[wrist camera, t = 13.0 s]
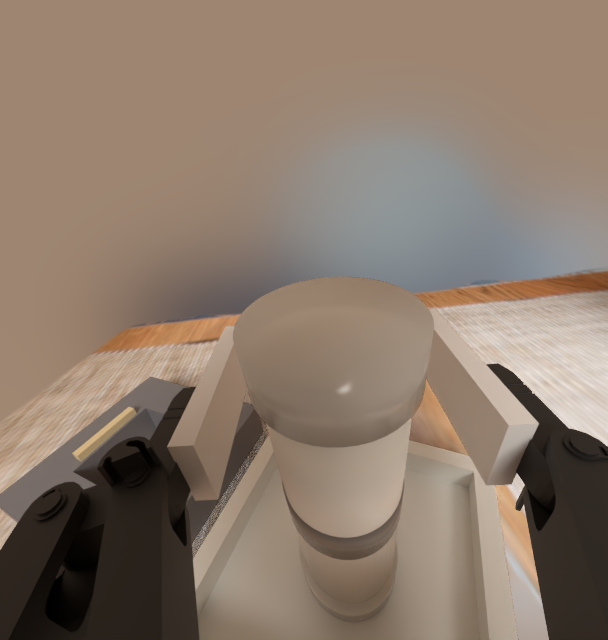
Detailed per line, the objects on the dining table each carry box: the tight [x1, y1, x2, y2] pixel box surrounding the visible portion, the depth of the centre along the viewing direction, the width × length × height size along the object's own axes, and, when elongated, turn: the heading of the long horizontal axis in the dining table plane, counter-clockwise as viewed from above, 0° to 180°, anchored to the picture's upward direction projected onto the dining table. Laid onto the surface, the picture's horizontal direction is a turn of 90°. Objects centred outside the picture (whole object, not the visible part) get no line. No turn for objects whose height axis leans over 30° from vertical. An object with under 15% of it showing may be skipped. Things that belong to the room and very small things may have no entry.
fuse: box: [233, 277, 434, 622], centre depth 11 cm, size 5×5×15 cm
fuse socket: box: [0, 377, 263, 544], centre depth 20 cm, size 12×12×4 cm
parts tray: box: [193, 435, 518, 640], centre depth 15 cm, size 14×14×2 cm
